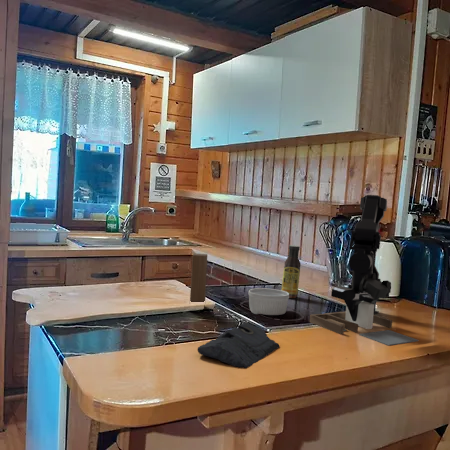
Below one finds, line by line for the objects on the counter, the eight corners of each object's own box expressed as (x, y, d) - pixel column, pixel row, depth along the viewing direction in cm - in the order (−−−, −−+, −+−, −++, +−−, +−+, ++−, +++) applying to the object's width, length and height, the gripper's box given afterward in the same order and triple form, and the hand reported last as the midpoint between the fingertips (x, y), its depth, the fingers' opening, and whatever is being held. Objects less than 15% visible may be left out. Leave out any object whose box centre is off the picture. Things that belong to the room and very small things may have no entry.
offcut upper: (330, 324, 138) (330, 319, 138) (344, 329, 132) (345, 324, 132) (322, 324, 136) (323, 319, 136) (336, 330, 131) (337, 324, 131)
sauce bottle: (280, 297, 175) (283, 245, 174) (281, 294, 181) (285, 244, 180) (297, 299, 174) (301, 247, 173) (298, 296, 180) (302, 245, 179)
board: (349, 323, 144) (351, 297, 143) (372, 331, 136) (374, 304, 135) (344, 323, 143) (346, 298, 142) (367, 331, 135) (369, 304, 134)
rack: (358, 319, 149) (359, 310, 149) (391, 330, 138) (392, 320, 138) (309, 324, 139) (310, 314, 139) (340, 337, 128) (341, 326, 127)
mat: (388, 333, 134) (389, 329, 134) (418, 343, 126) (418, 340, 126) (358, 337, 128) (359, 333, 128) (387, 348, 120) (388, 344, 120)
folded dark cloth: (185, 357, 105) (186, 336, 105) (229, 335, 125) (231, 317, 124) (246, 372, 98) (247, 350, 98) (283, 346, 118) (284, 328, 117)
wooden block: (191, 305, 155) (194, 251, 154) (204, 306, 155) (208, 252, 154) (189, 311, 146) (192, 254, 145) (203, 312, 146) (206, 255, 145)
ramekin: (258, 306, 160) (259, 286, 159) (294, 312, 153) (295, 292, 153) (239, 313, 148) (241, 291, 148) (277, 320, 142) (279, 298, 141)
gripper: (360, 274, 127) (356, 330, 127) (406, 272, 136) (401, 325, 137) (332, 268, 136) (328, 320, 137) (376, 266, 146) (372, 315, 146)
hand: (358, 320), depth 139 cm, fingers open, 3 cm apart
